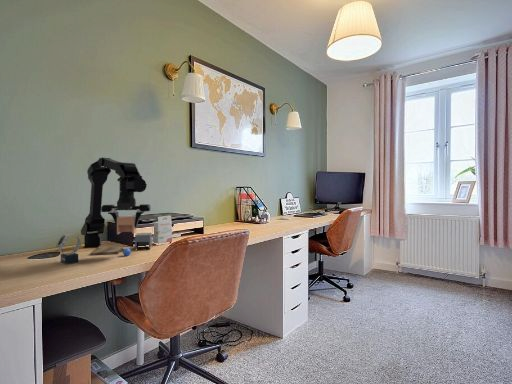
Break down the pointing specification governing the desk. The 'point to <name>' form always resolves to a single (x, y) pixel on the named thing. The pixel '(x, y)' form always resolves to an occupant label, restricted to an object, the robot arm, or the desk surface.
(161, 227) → the ink cartridge box
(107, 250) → the walnut mat
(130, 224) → the tan open box
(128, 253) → the blue marble
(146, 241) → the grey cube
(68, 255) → the watch
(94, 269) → the desk surface
